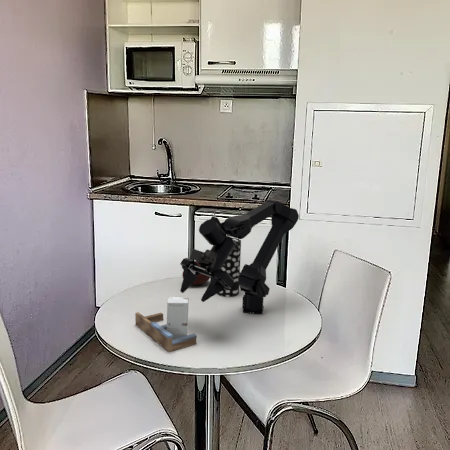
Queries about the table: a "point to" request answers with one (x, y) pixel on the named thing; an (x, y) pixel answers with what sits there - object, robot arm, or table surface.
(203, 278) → the potato
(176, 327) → the skincare box
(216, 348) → the table surface
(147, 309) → the table surface
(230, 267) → the spotted tube
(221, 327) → the table surface
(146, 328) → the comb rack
